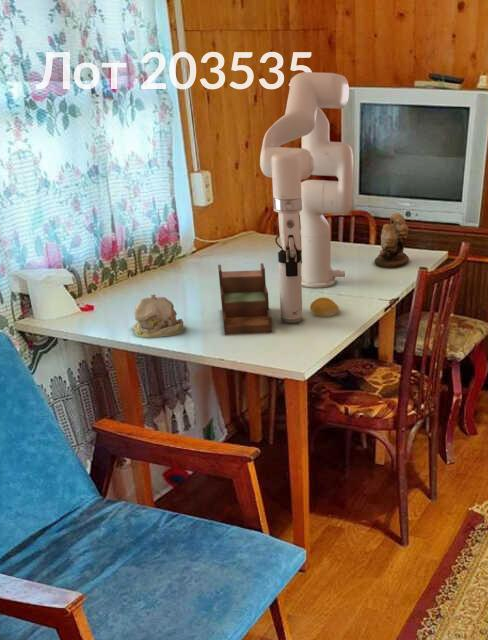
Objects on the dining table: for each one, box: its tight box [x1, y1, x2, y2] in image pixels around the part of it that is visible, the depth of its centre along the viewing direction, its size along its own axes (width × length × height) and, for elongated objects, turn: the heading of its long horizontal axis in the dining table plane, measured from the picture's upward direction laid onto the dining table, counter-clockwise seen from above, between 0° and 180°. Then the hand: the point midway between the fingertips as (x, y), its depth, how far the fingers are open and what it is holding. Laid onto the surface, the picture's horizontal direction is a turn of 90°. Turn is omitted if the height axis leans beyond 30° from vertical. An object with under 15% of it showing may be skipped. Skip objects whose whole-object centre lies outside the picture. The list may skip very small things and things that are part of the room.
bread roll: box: [309, 297, 340, 318], centre depth 220 cm, size 8×9×4 cm
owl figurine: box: [374, 212, 410, 269], centre depth 266 cm, size 18×12×17 cm, turn 163°
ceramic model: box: [132, 294, 185, 339], centre depth 203 cm, size 14×11×10 cm
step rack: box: [217, 262, 273, 336], centre depth 210 cm, size 13×21×14 cm, turn 11°
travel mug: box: [277, 248, 304, 324], centre depth 208 cm, size 6×7×20 cm
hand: (290, 271), depth 206 cm, fingers closed on travel mug, 6 cm apart
